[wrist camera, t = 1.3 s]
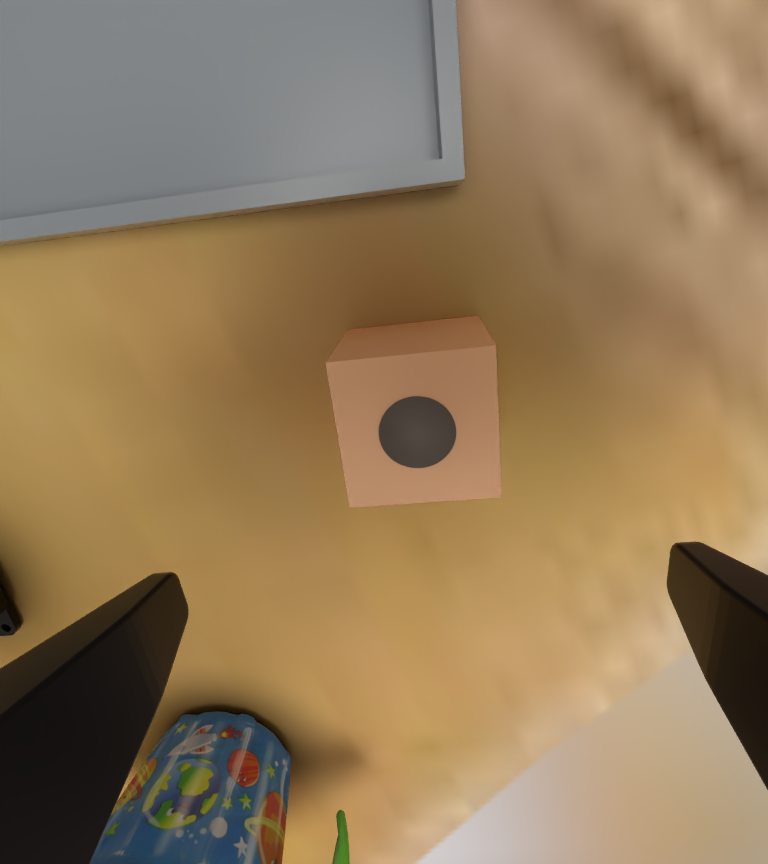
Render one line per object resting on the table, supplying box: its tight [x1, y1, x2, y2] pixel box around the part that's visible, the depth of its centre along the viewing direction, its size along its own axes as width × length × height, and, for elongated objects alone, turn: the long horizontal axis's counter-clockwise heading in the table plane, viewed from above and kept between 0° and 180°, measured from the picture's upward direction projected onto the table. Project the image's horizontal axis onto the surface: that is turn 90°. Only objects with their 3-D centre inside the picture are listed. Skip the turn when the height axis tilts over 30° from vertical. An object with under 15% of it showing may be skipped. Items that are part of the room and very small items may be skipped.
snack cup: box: [90, 711, 350, 864], centre depth 25 cm, size 16×10×10 cm
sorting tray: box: [0, 0, 465, 246], centre depth 15 cm, size 20×12×3 cm, turn 97°
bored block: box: [325, 316, 502, 508], centre depth 18 cm, size 5×5×5 cm
